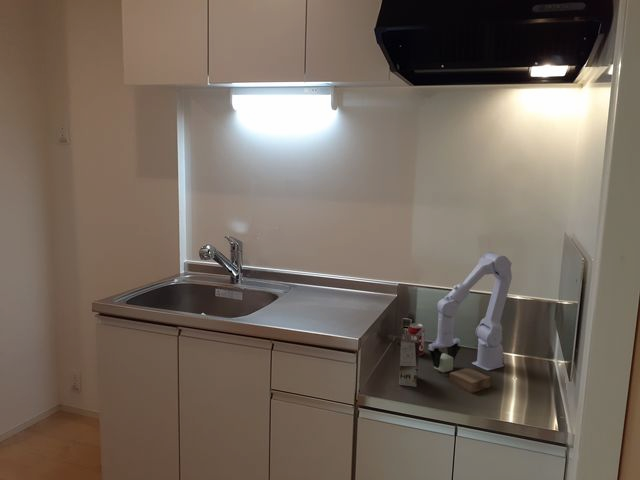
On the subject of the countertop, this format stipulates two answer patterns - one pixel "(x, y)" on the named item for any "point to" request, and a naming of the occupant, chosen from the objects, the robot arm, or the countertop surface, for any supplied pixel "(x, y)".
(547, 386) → the countertop surface
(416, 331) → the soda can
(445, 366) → the sage cube
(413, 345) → the coffee box
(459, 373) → the walnut base
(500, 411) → the countertop surface
